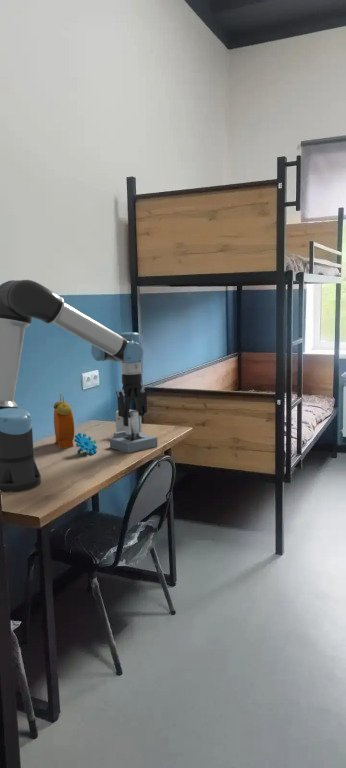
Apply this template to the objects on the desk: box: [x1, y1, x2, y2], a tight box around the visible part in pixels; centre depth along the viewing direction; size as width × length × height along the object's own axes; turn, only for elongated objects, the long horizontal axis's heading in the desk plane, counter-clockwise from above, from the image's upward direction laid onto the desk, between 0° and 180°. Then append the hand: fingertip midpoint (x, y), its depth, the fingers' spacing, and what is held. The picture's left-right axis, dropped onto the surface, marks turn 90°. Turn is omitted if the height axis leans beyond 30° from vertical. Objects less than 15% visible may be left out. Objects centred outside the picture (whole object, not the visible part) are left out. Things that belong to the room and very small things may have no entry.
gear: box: [73, 432, 98, 456], centre depth 220 cm, size 11×6×10 cm
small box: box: [115, 410, 125, 433], centre depth 245 cm, size 8×6×10 cm
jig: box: [109, 431, 158, 454], centre depth 227 cm, size 14×12×5 cm
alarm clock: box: [53, 393, 75, 449], centre depth 232 cm, size 13×6×20 cm, turn 20°
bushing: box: [128, 409, 141, 441], centre depth 226 cm, size 4×4×11 cm
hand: (133, 432), depth 227 cm, fingers closed on bushing, 4 cm apart
